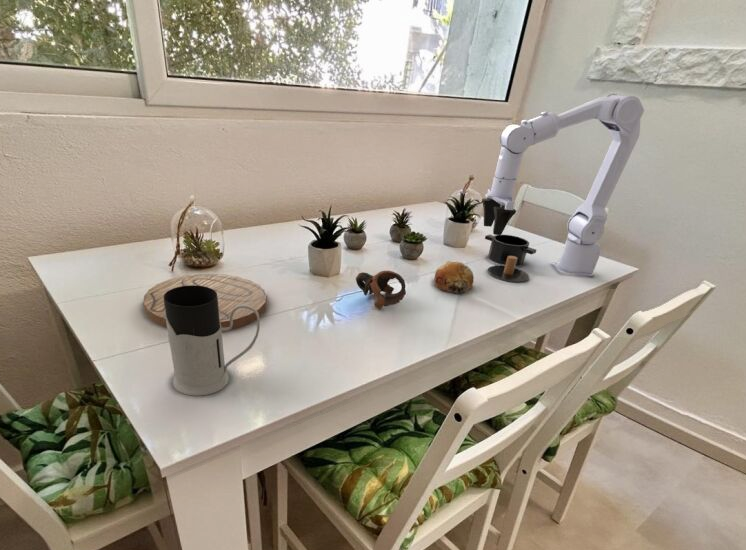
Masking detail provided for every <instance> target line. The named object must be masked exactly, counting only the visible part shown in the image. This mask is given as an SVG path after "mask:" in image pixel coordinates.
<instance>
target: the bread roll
mask: <svg viewBox="0 0 746 550" xmlns="http://www.w3.org/2000/svg"><path fill="white" fill-rule="evenodd" d="M474 278H475V277H474V273H473V270H471V268H470V267H469V266H468V265H466V264H464V263H463V262H460V261H451V260H450V261H449V260H448V261H446V262H445V263H444V264H442V265H441V266H439V267H438V268H436V270H435V274H434V286H435V287H436V288H437V289H438V290H440V291H442V292H447V293H449V294H450V293H451V294H452V293H453V294H463V293H465V292H467V291H468V290H471V289H472V288H473V285H474V280H475V279H474Z"/></svg>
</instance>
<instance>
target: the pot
mask: <svg viewBox="0 0 746 550" xmlns="http://www.w3.org/2000/svg"><path fill="white" fill-rule="evenodd" d="M484 240H487V241H490V242H491V243H490V246H489V250H488V254H487V258H488V259H489V261H491V262H493V263H496V264H499V265H502V266H505V265H506V261H507V258H508V256H515V257H517V258H518V259H517V262H516V265H515V267H519V266H522V265H524V263H525V260H526V256H527V254H529V255H534V254H536V253H537V249H536V248H533V247H529V246H530V242H529V241H528V240H527V239H525V238H523V237H519V236H516V235H510V234H501V235H494V234H486V235H485V236H484Z"/></svg>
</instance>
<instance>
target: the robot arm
mask: <svg viewBox="0 0 746 550" xmlns="http://www.w3.org/2000/svg"><path fill="white" fill-rule="evenodd" d="M644 112H645V108H644V106H643V104H642V101H641V99H640V98H639V97H637V96H635V95H621V94H618V93H617V94H616V93H610V94H607V95H605V96H599V97H597V98H595V99H592V100H590V101H588V102H585V103H583V104H581V105H578V106H576V107H573V108H571V109H569V110H567V111H563V112H561V113H559V114H556V113H554V112H553V111H551V112H550V111H549V112H548V111H542V112H540V115H539V116H537V117H534V118H532V119H528V120H527V119H524V120H523V119H522V120H521V121H520V125H518V124H511V125H510V124H509V125H508V126H507V127H506V128H505V129H504V130H503V131H502V133H501V135H500V136H499V145H500V146H501V148H500V151H499V155H498V159H497V163H496V168H495V172H494V176H493V180H492V185H491V188H488V189H487V193H485V195H484V196H485V197H486V198H481V202H482V203H481V204H482V206H483V227H490V228H491V227H492V226H493V227H492V228H493V229H492V233H493V234H492V235H493V236H495V235H503V232H504V231H505V229H506V227H507V225H508V224H509V222H510V220H511V219H512V217H514V215H515V214H516V212H517V209H515V208H514V207H515V204H516V202H515V201H514V197H513V195H514V190H515V187H516V183H517V179H518V175H519V172H520V167H521V164H522V160H523V156H524V152H526V151H527V150H528V148H529V147H531V146H534V145H536V144H538V143H542V142H545V141H547V140H550V139H553V138H555V137H557V135H558V133H559V132H560V130H563V129H566V128H569V127H571V126H575V125H578V124H581V123H583V122H587V121H590V120H598V121H599V122H600V124H601V125H603V126H604V127H605V128H606V129H607V130H608V132H609V134H610V137H611V139H612V141H611V143H610V145H609V148H608V150H607V151H606V154H605V156H604V159H603V161H602V163H601V165H600V167H599V170H598V172H597V174H596V176H595V179H594V181H593V183H592V185H591V187H590V190H589V192H588V194H587V196H586V199H585V201H584V202H583V203H582V204H580V205H579V206H577V208H576V210H575V212H574V213H573V215H571V217H570V218H569V219H568V221H567V223H566V230H567V232H568V234H567V238H566V240H565V244H564V246H563V249H562V252H561V255H560V257H559V261H558V262H552V266H554V267H555V268H556V269H557V270H558V271H559V272H560V273H563V274H573V275H581V276H582V275H583V276H585V277H593V276H594V274H593V273H594V271H595V268H596V266H597V264H598V261H599V258H600V257H601V251H602V246H601V244H600V242H598V241H599V240H600V239H601V238H602V237H603V235H604V232H605V224H606V221H607V219H608V216H607V212H606V211H607V210H606V207H607V205H608V203H609V201H610V199H611V198H612V194H613V192H614V190H615V189H616V186H617V184H618V182H619V180H620V178H621V176H622V174H623V172H624V169H625V167H626V164H628V161H629V159H630V157H631V155H632V153H633V151H634V149H635V147H636V144H637V142H638V140H639V137H640V135H641V134H640V132H641V119H642V116H643V114H644Z"/></svg>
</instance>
